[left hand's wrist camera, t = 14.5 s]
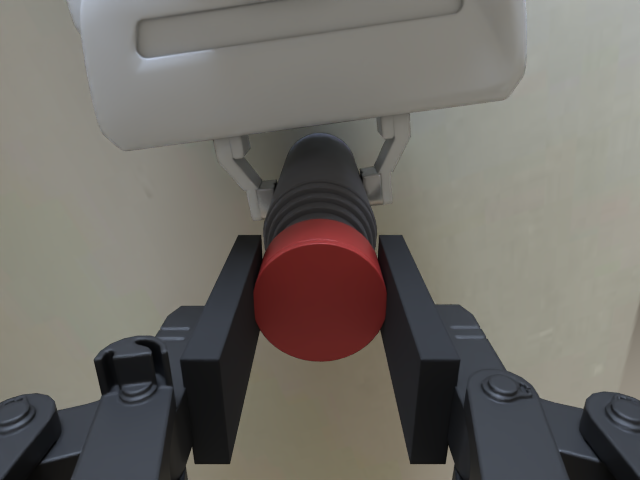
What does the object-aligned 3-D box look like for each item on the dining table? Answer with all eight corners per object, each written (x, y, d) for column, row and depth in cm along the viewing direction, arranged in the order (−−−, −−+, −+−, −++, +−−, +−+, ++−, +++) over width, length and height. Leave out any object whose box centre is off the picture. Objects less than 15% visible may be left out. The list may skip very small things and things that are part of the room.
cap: (401, 252, 15) (414, 282, 13) (341, 341, 16) (344, 380, 14) (295, 196, 14) (290, 218, 12) (241, 293, 15) (229, 328, 13)
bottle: (368, 154, 29) (428, 271, 13) (333, 213, 31) (348, 384, 14) (305, 119, 28) (286, 197, 12) (273, 181, 30) (216, 325, 14)
